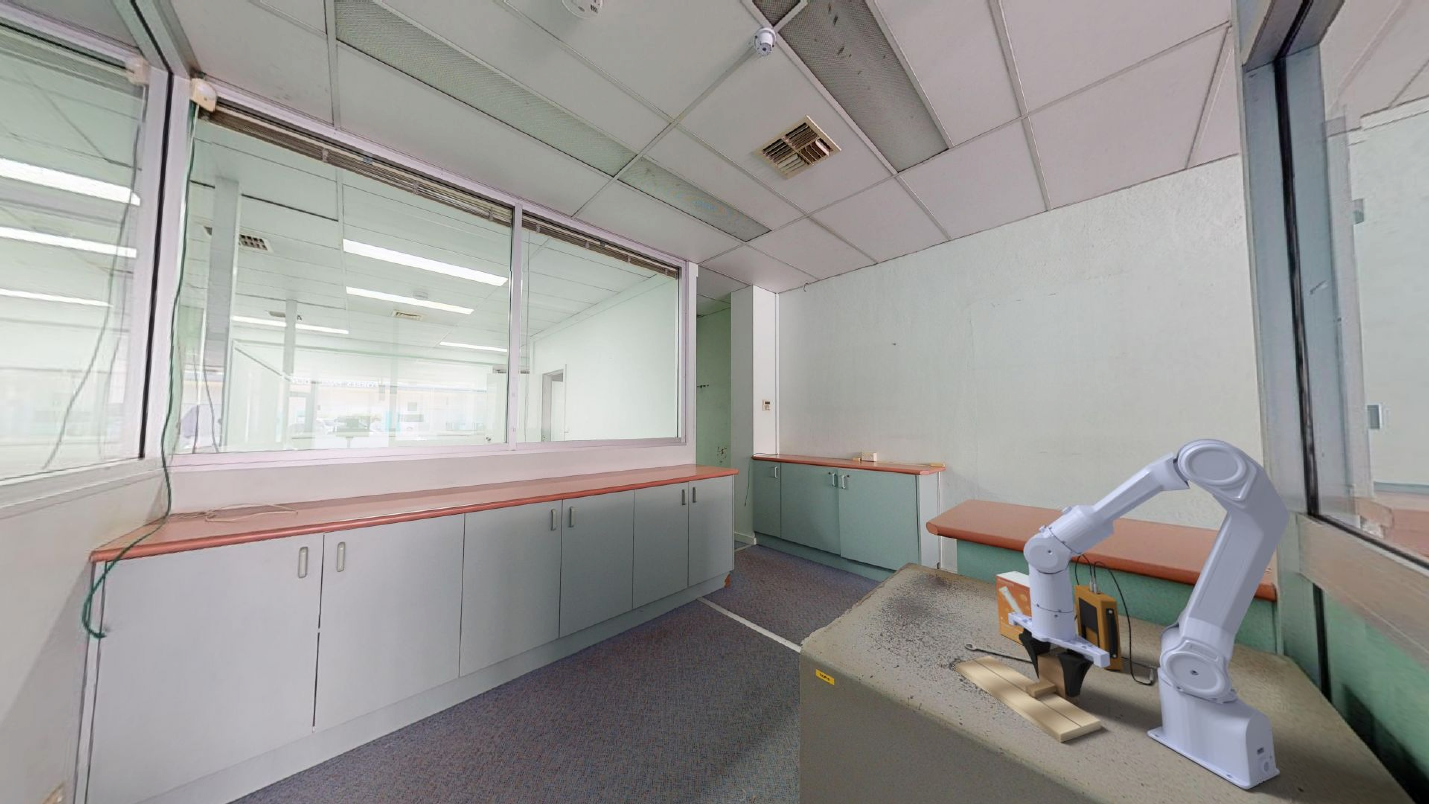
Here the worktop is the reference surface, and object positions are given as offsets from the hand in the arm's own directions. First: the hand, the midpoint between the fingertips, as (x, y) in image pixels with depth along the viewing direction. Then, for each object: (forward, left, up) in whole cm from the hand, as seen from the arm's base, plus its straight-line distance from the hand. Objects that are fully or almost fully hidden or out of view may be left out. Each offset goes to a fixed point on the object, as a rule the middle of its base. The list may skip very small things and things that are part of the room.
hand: (1058, 686), depth 68 cm
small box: (+14, -13, -2) cm, 19 cm away
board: (+2, +6, -2) cm, 7 cm away
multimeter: (+3, -22, -2) cm, 22 cm away
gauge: (0, +3, -2) cm, 3 cm away
